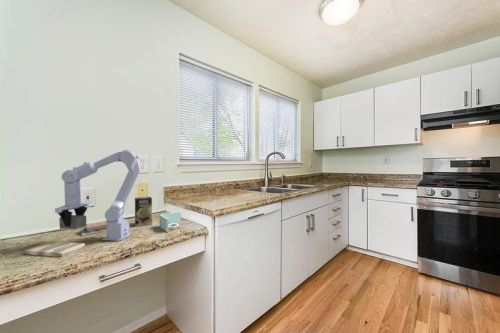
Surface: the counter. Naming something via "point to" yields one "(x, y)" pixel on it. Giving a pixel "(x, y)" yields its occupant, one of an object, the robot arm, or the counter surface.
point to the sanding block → (74, 223)
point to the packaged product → (94, 228)
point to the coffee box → (143, 211)
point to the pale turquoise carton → (170, 220)
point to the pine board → (54, 249)
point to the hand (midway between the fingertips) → (73, 224)
